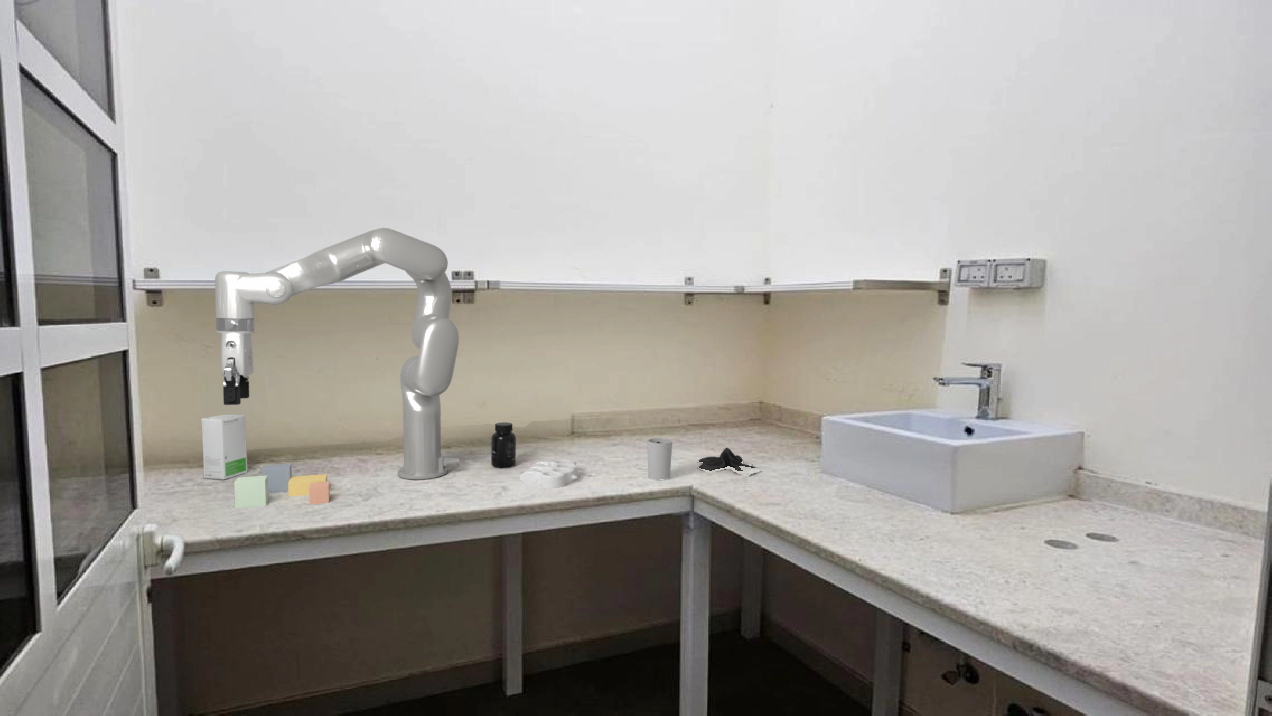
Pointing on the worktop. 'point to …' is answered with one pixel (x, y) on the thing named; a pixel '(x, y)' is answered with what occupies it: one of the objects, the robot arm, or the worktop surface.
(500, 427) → the supplement bottle
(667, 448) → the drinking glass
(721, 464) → the cloth
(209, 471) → the skincare box
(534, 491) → the worktop surface
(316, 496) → the terracotta cube
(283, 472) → the slate block
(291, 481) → the ochre block
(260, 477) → the sage block
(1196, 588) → the worktop surface
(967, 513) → the worktop surface
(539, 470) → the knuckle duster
